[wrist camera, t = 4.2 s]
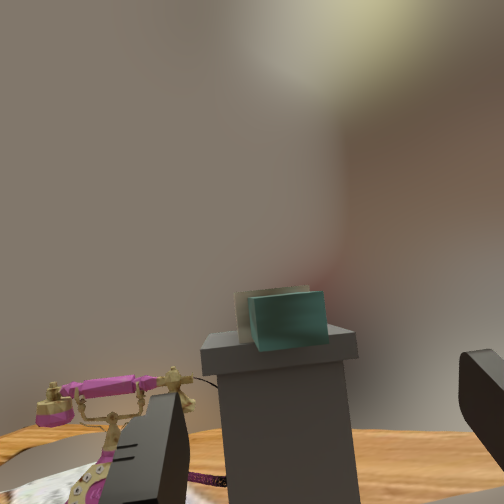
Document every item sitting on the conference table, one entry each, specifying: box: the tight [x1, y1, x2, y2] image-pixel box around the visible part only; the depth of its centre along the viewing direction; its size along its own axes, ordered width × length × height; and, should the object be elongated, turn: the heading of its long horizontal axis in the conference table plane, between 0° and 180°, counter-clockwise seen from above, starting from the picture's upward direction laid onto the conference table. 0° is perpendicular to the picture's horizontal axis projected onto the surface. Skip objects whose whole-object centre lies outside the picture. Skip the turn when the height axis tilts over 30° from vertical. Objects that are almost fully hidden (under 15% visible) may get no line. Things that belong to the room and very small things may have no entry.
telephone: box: [36, 366, 227, 504], centre depth 75 cm, size 36×22×25 cm, turn 87°
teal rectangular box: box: [234, 285, 329, 352], centre depth 36 cm, size 6×22×4 cm, turn 2°
